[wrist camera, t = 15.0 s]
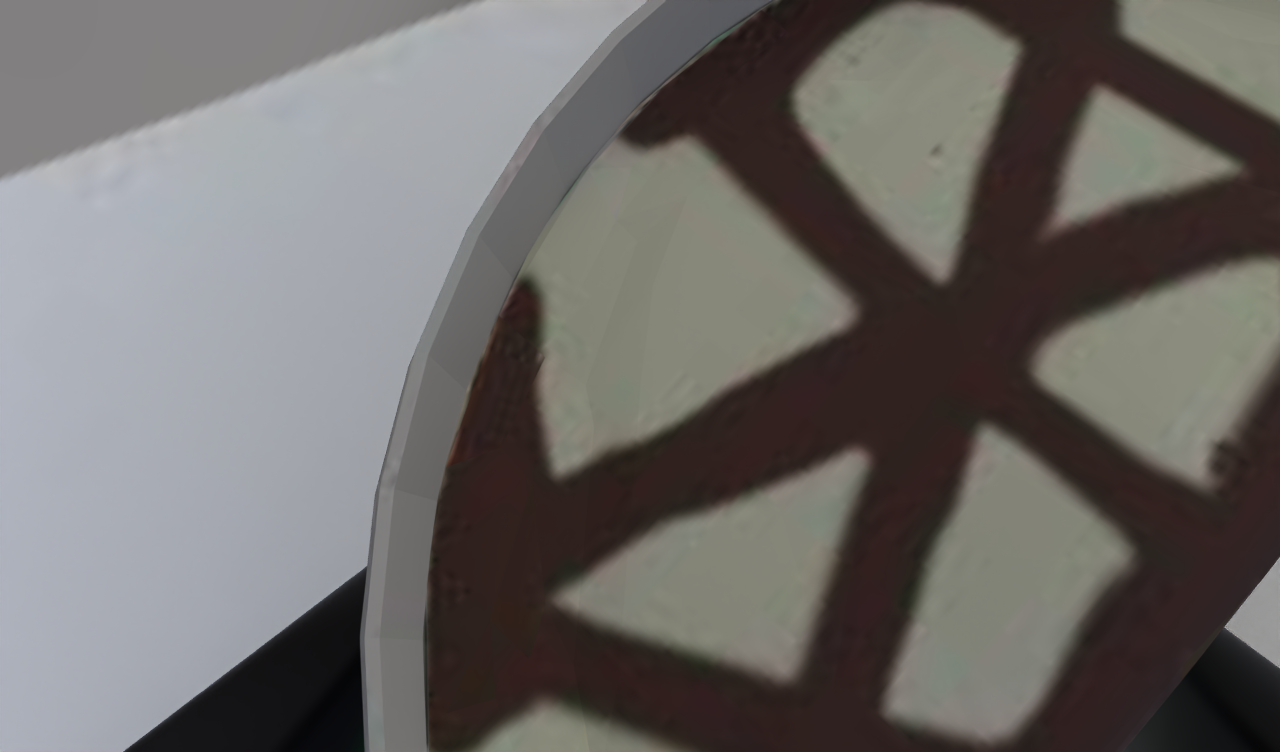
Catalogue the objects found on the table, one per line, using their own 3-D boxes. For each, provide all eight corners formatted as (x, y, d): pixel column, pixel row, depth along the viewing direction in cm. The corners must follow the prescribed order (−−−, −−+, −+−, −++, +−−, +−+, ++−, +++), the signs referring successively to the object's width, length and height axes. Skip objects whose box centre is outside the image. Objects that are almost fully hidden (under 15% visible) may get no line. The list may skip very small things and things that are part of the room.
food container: (862, 145, 17) (1054, -500, 7) (1148, 341, 15) (1859, -152, 6) (405, 652, 15) (-145, 664, 5) (684, 936, 13) (611, 1668, 4)
